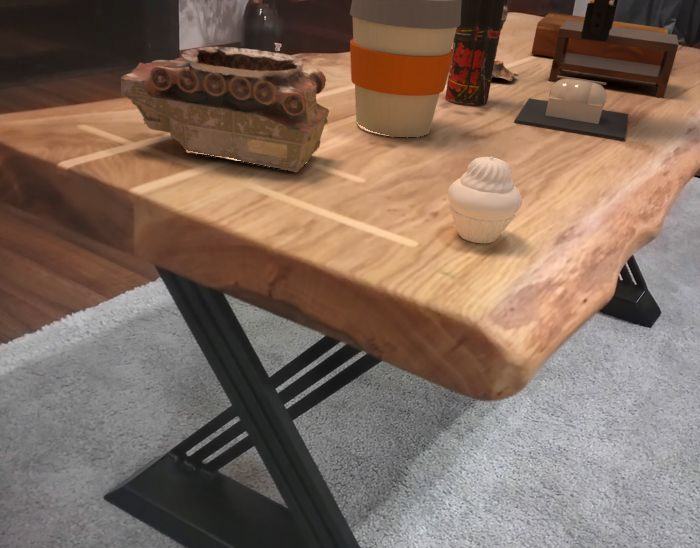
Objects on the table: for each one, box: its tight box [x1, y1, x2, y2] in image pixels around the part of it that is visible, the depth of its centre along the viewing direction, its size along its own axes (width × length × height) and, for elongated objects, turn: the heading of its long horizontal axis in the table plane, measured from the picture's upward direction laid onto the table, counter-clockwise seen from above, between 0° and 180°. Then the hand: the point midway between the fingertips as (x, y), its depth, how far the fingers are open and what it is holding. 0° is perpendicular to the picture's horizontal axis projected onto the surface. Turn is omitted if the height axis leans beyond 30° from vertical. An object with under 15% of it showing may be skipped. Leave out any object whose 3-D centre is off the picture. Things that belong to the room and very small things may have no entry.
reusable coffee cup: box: [349, 0, 462, 139], centre depth 90 cm, size 13×13×15 cm
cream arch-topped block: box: [545, 75, 607, 124], centre depth 103 cm, size 7×4×5 cm, turn 71°
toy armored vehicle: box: [120, 45, 330, 173], centre depth 76 cm, size 13×20×10 cm, turn 70°
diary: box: [531, 11, 669, 66], centre depth 148 cm, size 23×19×6 cm
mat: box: [513, 97, 629, 142], centre depth 105 cm, size 14×14×1 cm
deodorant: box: [445, 0, 505, 107], centre depth 105 cm, size 6×6×15 cm
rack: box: [548, 20, 680, 99], centre depth 126 cm, size 18×11×8 cm, turn 71°
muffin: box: [447, 155, 523, 244], centre depth 64 cm, size 6×6×7 cm
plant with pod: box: [492, 0, 520, 82], centre depth 119 cm, size 8×11×20 cm
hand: (596, 34), depth 99 cm, fingers open, 9 cm apart
